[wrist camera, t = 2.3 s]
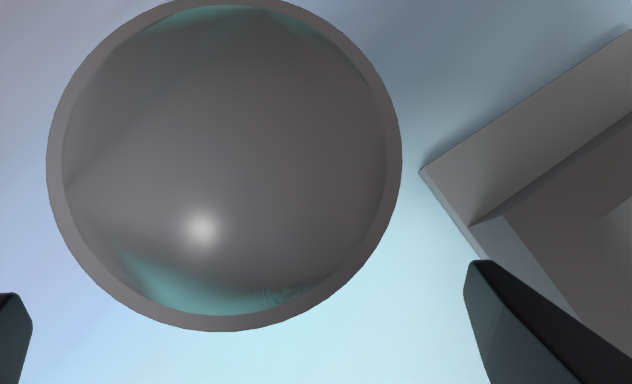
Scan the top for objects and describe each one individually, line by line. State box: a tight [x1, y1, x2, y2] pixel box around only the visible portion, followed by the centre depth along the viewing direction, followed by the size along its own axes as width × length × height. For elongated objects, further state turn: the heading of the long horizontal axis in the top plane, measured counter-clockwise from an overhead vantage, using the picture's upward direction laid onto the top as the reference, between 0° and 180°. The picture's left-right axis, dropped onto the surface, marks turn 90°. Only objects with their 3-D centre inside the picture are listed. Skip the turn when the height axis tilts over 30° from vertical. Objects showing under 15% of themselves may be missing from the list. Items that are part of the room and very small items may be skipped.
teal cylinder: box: [46, 0, 402, 332], centre depth 13 cm, size 5×5×13 cm
